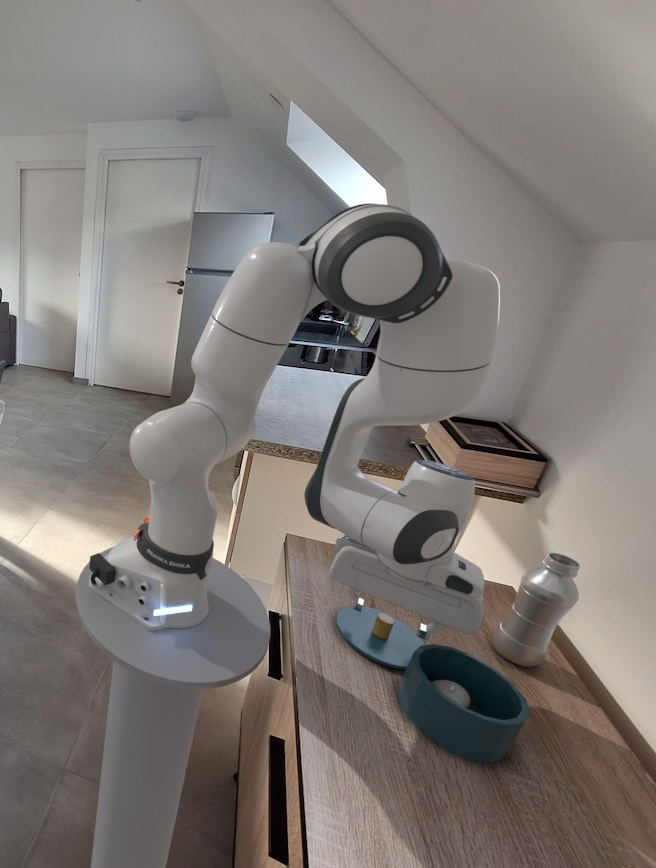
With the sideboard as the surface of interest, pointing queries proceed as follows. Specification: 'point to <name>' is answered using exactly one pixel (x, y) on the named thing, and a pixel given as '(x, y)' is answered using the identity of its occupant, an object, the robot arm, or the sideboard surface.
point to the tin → (454, 724)
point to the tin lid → (378, 636)
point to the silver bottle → (537, 610)
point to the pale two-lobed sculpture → (453, 692)
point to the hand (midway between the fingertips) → (388, 622)
